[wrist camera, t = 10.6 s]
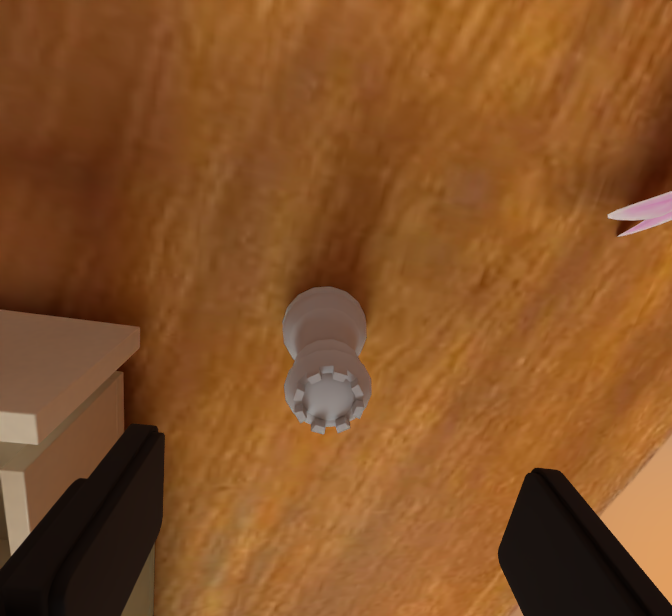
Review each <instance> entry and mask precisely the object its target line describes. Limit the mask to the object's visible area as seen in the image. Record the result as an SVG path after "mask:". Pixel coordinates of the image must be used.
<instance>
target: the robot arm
mask: <svg viewBox="0 0 672 616" xmlns="http://www.w3.org/2000/svg"><path fill="white" fill-rule="evenodd" d="M164 448H165V435H164V433H159V432H158V428H157V426H152V425H143V424H134V423H133V424H131V425H130V426H129V427H128V428H127V429H126V430H125V432H124V433H123V434H122V435H121V437H120V438H119V439H118V440H117V442H116V443H115V444H114V445H113V447H112V448H111V449H110V451H109V452H108V453H107V454H106V456H105V457H104V458H103V459H102V461H101V462H100V463H99V464H98V466H97V467H96V468H95V470H94V471H93V472H92V473H91V475H90V476H89V477H88V478H87V479H86V478H79V479H77V480H75V481H74V482H73V483H72V484H71V485H70V486H69V487H68V488H67V490H66V491H65V492H64V493H63V494H62V496H61V497H60V498H59V499H58V500H57V502H56V503H55V504H54V505H53V506H52V508H51V509H50V510H49V511H48V513H47V514H46V515H45V516H44V517H43V519H42V520H41V521H40V522H39V523H38V525H37V526H36V527H35V528H34V529H33V531H32V532H31V533H30V534H29V535H28V537H27V538H26V539H25V540H24V541H23V543H22V544H21V545H20V546H19V547H18V549H17V550H16V551H15V552H14V553H13V555H12V556H11V557H10V558H9V560H8V561H7V562H6V563H5V564H4V566H3V567H2V568H1V569H0V616H121V614H122V612H123V610H124V608H125V606H126V604H127V601H128V599H129V597H130V595H131V593H132V591H133V588H134V586H135V584H136V582H137V580H138V578H139V575H140V573H141V571H142V569H143V567H144V565H145V562H146V560H147V558H148V556H149V554H150V552H151V549H152V547H153V545H154V543H155V541H156V539H157V537H158V534H159V531H160V528H161V524H162V517H163V483H164ZM498 559H499V563H500V566H501V568H502V570H503V572H504V575H505V577H506V579H507V581H508V583H509V585H510V587H511V590H512V592H513V594H514V596H515V598H516V600H517V602H518V605H519V607H520V609H521V611H522V613H523V615H524V616H672V605H671V604H670V603H669V602H668V600H667V599H666V598H665V597H664V596H663V594H662V593H661V592H660V591H659V589H658V588H657V587H656V586H655V585H654V583H653V582H652V581H651V580H650V579H649V577H648V576H647V575H646V574H645V572H644V571H643V570H642V569H641V568H640V567H639V565H638V564H637V563H636V562H635V560H634V559H633V558H632V557H631V556H630V554H629V553H628V552H627V551H626V550H625V548H624V547H623V546H622V545H621V543H620V542H619V541H618V540H617V539H616V537H615V536H614V535H613V534H612V533H611V531H610V530H609V529H608V528H607V527H606V525H605V524H604V523H603V522H602V521H601V519H600V518H599V517H598V516H597V514H596V513H595V512H594V511H593V510H592V508H591V507H590V506H589V505H588V504H587V502H586V501H585V500H584V499H583V498H582V496H581V495H580V494H579V493H578V492H577V490H576V489H575V488H574V487H573V485H572V484H571V483H570V482H569V481H568V479H567V478H566V477H565V476H564V475H563V474H562V473H561V472H560V471H558V470H553V469H544V468H534V469H533V470H532V472H531V473H528V474H527V475H526V476H525V479H524V481H523V484H522V487H521V490H520V492H519V495H518V498H517V500H516V503H515V506H514V508H513V511H512V514H511V517H510V519H509V522H508V525H507V527H506V530H505V533H504V535H503V538H502V541H501V544H500V546H499V550H498Z"/></svg>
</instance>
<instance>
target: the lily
mask: <svg viewBox="0 0 672 616" xmlns="http://www.w3.org/2000/svg"><path fill="white" fill-rule="evenodd" d="M608 218H611V219H615V220H644V221H643V222H641V223H639V224H638V225H636V226H634V227H633V228H631V229H629V230H627V231H626V232H624V233H622V234H620V235H618V236H617V237H619V236H624V235H628V234H632V233H636V232H639V231H642V230H645V229H648V228H651V227H654V226H657V225H660V224H662V223H665V222H668V221H670V220H672V191H671V192H668V193H665V194H662V195H659V196H656V197H653V198H650V199H647V200H644V201H641V202H638V203H635V204H632V205H629V206H627V207H624V208H621V209H618V210H616V211H614V212H612V213H610V214H608Z"/></svg>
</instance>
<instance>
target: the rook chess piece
mask: <svg viewBox="0 0 672 616" xmlns="http://www.w3.org/2000/svg"><path fill="white" fill-rule="evenodd" d="M283 337H284V344H285V346H286V347H287V349H288V351H289V353H290V354H291V356H292V358H293V359H294V360H295V362H294V364H293V367H292V368H291V369H290V370H289V372H288V375H287V378H286V381H285V384H284V390H285V399H286V402H287V403H288V405H289V407H290V408H291V410H292V412H293V413H294V414H295V415H296V417H297V418H298V420H299V422H300V423H302V422H303V421H305V422H306V423H309V424H311V431H313V432H317V433H320V434H324V433H325V427H332V426H336V429H337V432H338V433H340V432H342V431H345V430H347V429H349V428H350V422H349V421H351V420H354V419H355V418H356V417H357V418H359V419H360V417H361V415H362V412H363V410H364V409H365V408H366V406H367V403H368V401H369V399H370V396H371V378H370V376H369V374H368V372H367V370H366V368H365V366H364V365H363V364H362V363H361V362H360V360H359V358H358V356H359V355H360V353H361V350H362V348H363V345H364V343H365V340H366V338H367V334H366V319H365V314H364V312H363V310H362V308H361V306H360V304H359V302H358V301H357V300H356V299H354V298H353V297H352V296H351V295H350V294H349V293H347V292H346V291H343V290H340V289H337V288H334V287H331V286H329V287H313V288H311V289H309V290H307V291H305V292H303V293H301V294H299V295H298V296H297V297H296V298H295V299H294V300H293V301H292V302H291V303H290V305H289V306H288V307H287V310H286V313H285V316H284V319H283Z"/></svg>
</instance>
